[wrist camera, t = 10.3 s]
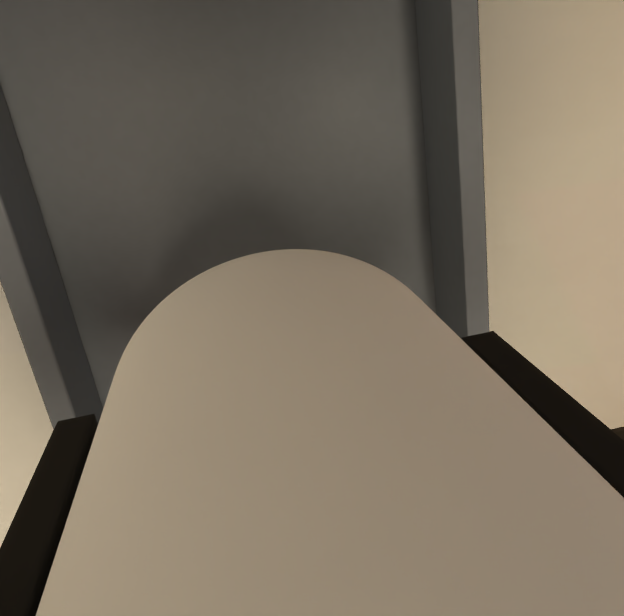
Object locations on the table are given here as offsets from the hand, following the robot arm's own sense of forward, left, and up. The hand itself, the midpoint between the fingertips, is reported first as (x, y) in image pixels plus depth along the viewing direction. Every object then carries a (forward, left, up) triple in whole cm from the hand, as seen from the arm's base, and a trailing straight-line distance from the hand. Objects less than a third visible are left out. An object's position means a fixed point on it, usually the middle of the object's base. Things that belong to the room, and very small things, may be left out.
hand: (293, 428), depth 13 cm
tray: (-4, 0, -9) cm, 10 cm away
